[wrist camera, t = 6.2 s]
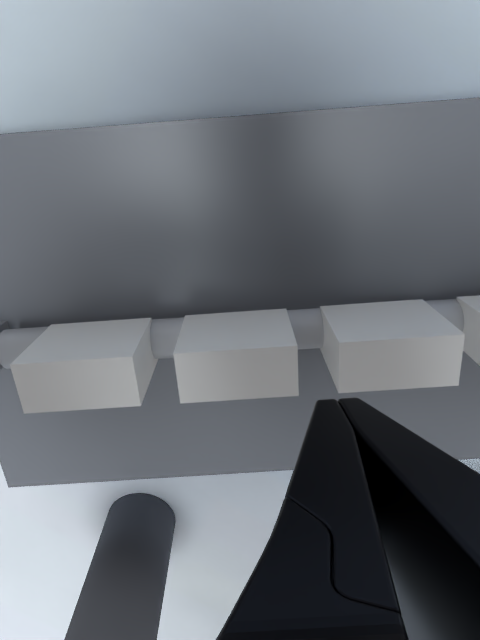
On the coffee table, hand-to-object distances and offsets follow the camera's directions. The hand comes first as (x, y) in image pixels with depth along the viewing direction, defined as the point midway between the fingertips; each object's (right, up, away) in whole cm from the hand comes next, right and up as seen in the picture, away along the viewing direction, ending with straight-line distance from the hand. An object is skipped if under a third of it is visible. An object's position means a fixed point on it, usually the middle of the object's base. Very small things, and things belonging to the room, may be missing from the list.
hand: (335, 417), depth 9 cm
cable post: (-6, -7, +11) cm, 14 cm away
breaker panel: (0, +3, +7) cm, 8 cm away
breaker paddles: (0, +2, +4) cm, 5 cm away
